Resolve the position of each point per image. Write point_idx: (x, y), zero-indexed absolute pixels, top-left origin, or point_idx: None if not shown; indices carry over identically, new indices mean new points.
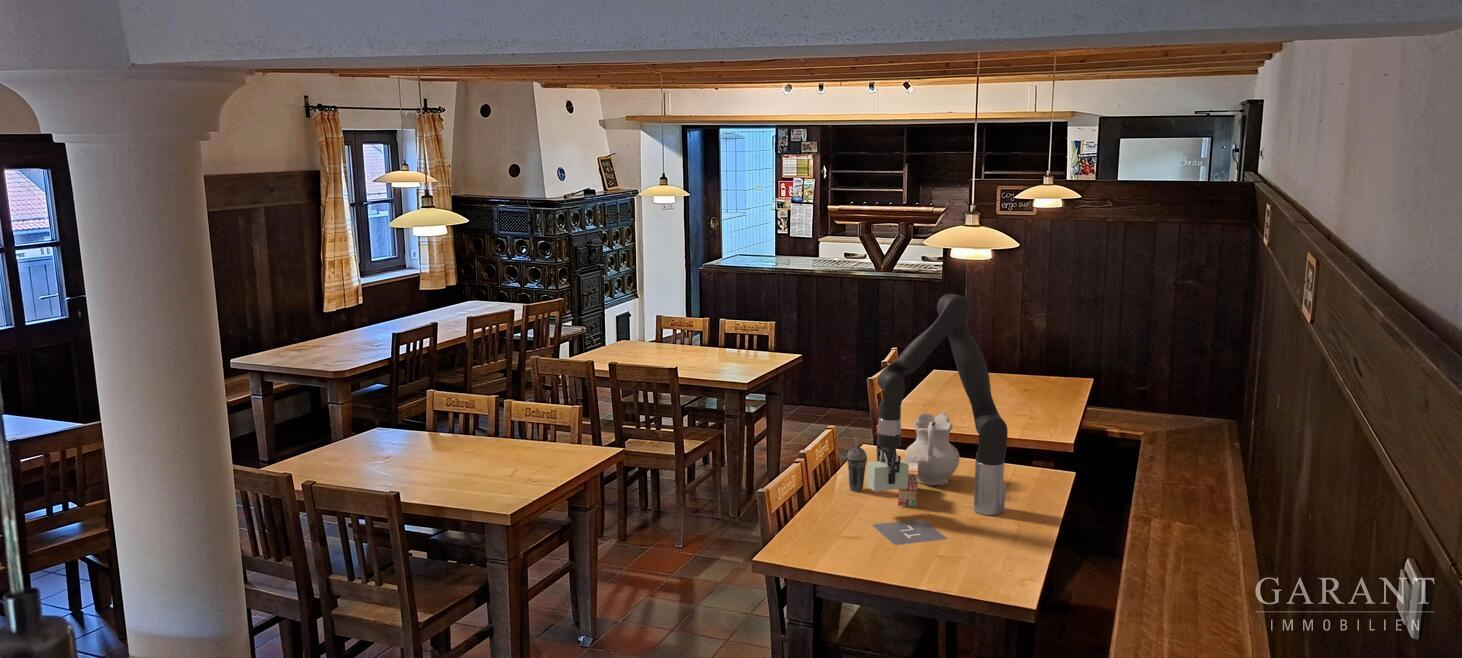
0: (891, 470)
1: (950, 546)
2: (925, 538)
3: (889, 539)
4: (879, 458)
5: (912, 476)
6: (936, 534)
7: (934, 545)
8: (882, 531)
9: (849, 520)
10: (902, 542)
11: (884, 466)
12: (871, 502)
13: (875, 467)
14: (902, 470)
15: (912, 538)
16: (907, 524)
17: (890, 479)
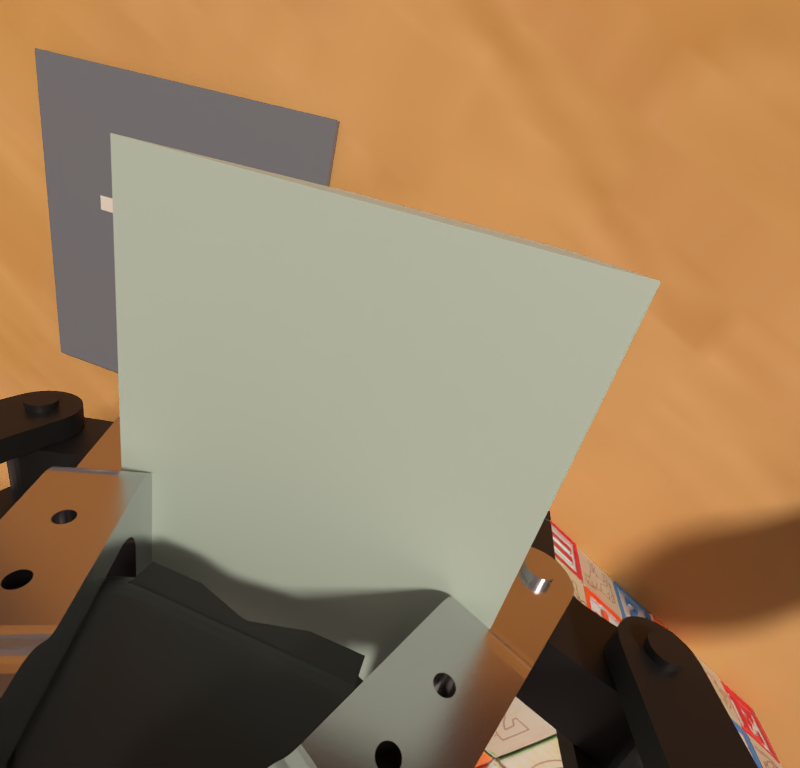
0: (35, 413)
1: (8, 308)
2: (83, 269)
3: (105, 71)
4: (511, 681)
5: None
6: (113, 348)
7: (24, 254)
8: (216, 113)
9: (496, 20)
10: (58, 118)
11: (146, 422)
12: (679, 412)
13: (128, 173)
14: None
15: (93, 208)
16: None
17: None
